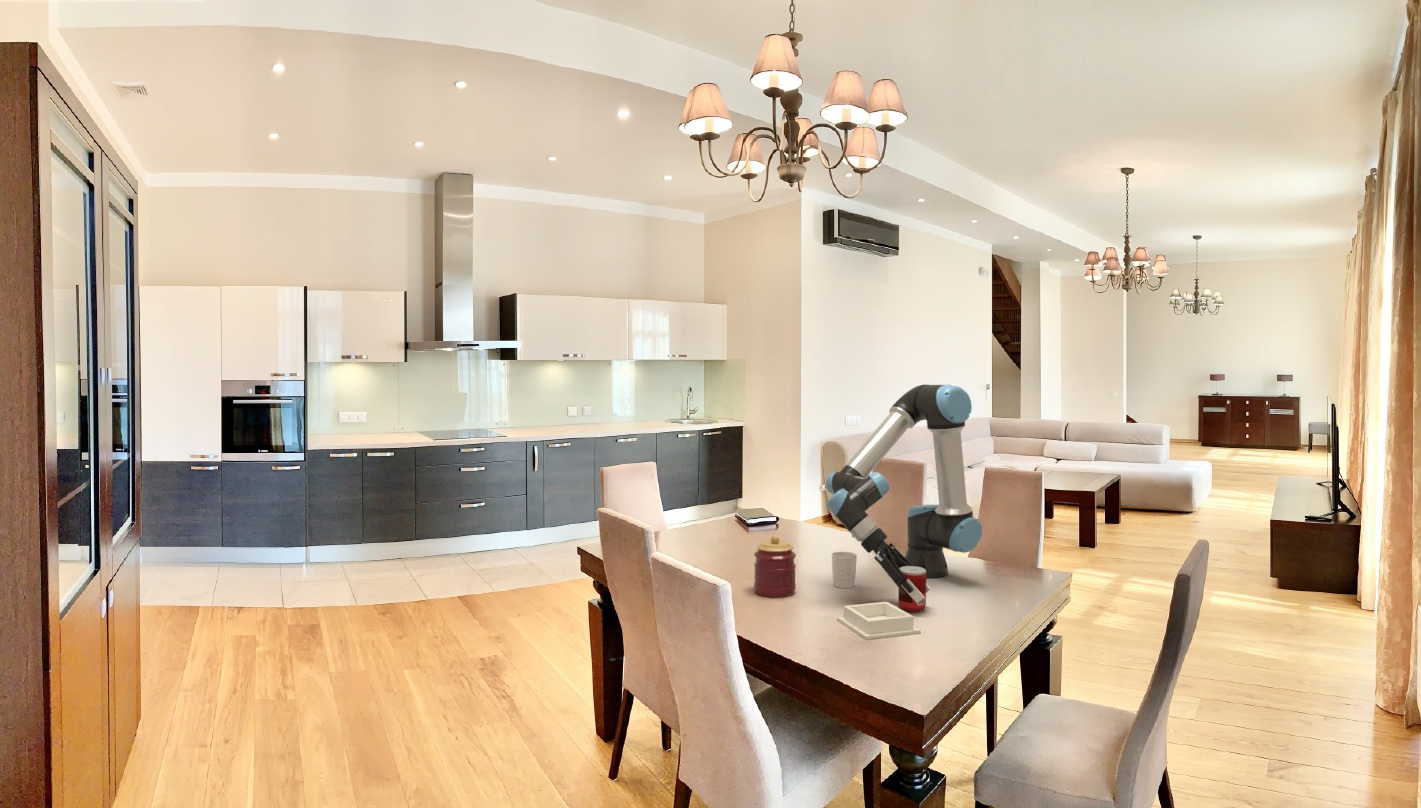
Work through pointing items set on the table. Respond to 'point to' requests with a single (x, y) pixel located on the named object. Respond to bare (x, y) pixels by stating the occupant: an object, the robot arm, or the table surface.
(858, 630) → the white square tray
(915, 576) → the canned food
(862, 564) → the table surface
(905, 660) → the table surface
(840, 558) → the white cup
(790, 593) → the canister
